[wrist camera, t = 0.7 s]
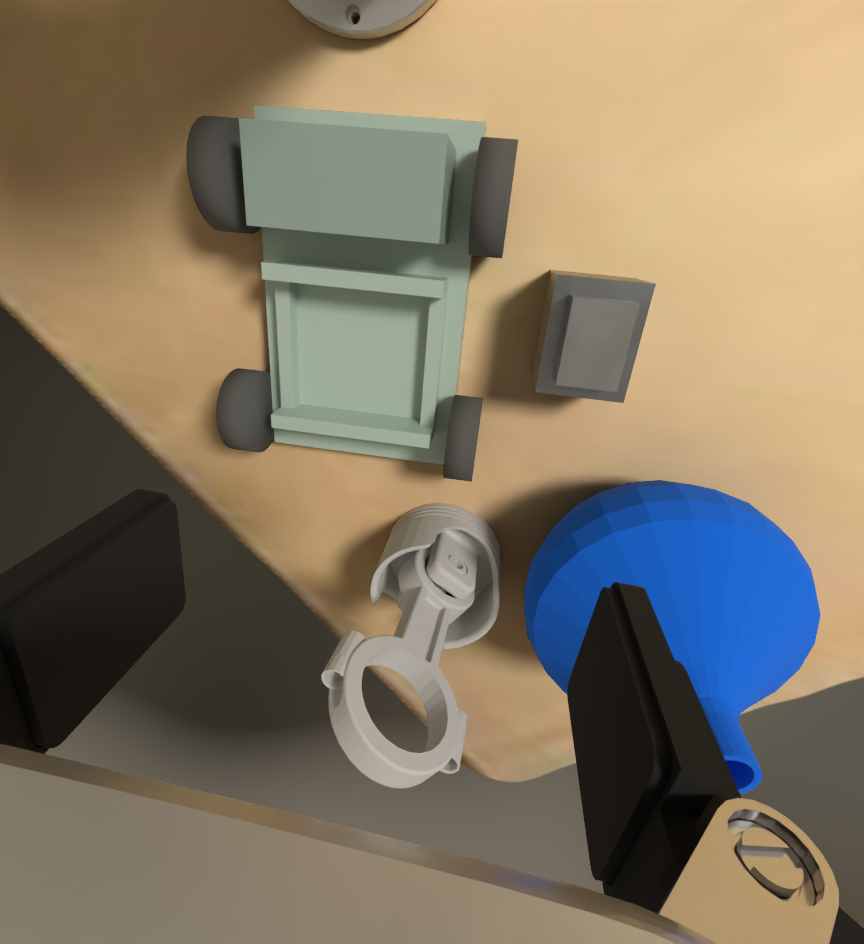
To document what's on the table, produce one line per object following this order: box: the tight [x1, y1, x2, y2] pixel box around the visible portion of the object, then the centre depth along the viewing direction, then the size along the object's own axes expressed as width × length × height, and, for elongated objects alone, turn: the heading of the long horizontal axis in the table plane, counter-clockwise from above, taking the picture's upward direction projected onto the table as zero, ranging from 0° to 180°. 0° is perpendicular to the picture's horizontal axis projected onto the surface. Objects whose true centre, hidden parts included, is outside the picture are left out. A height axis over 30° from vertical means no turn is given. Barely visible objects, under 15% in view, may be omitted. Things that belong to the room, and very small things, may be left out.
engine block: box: [531, 270, 655, 403], centre depth 31 cm, size 7×6×6 cm
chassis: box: [187, 105, 518, 481], centre depth 32 cm, size 22×18×6 cm
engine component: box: [322, 503, 500, 788], centre depth 34 cm, size 11×20×10 cm
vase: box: [524, 480, 820, 794], centre depth 32 cm, size 18×18×19 cm
